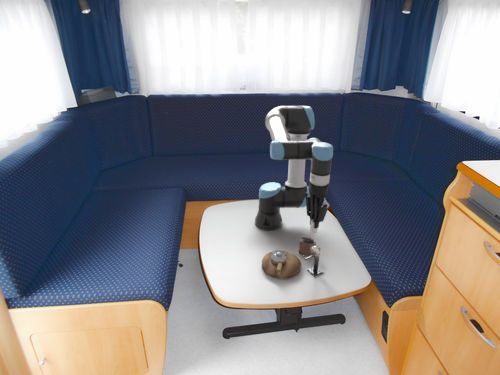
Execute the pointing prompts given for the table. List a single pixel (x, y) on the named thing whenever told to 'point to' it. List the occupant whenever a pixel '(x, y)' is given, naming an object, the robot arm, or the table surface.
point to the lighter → (306, 245)
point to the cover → (278, 257)
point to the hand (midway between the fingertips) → (313, 233)
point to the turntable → (281, 271)
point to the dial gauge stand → (315, 261)
